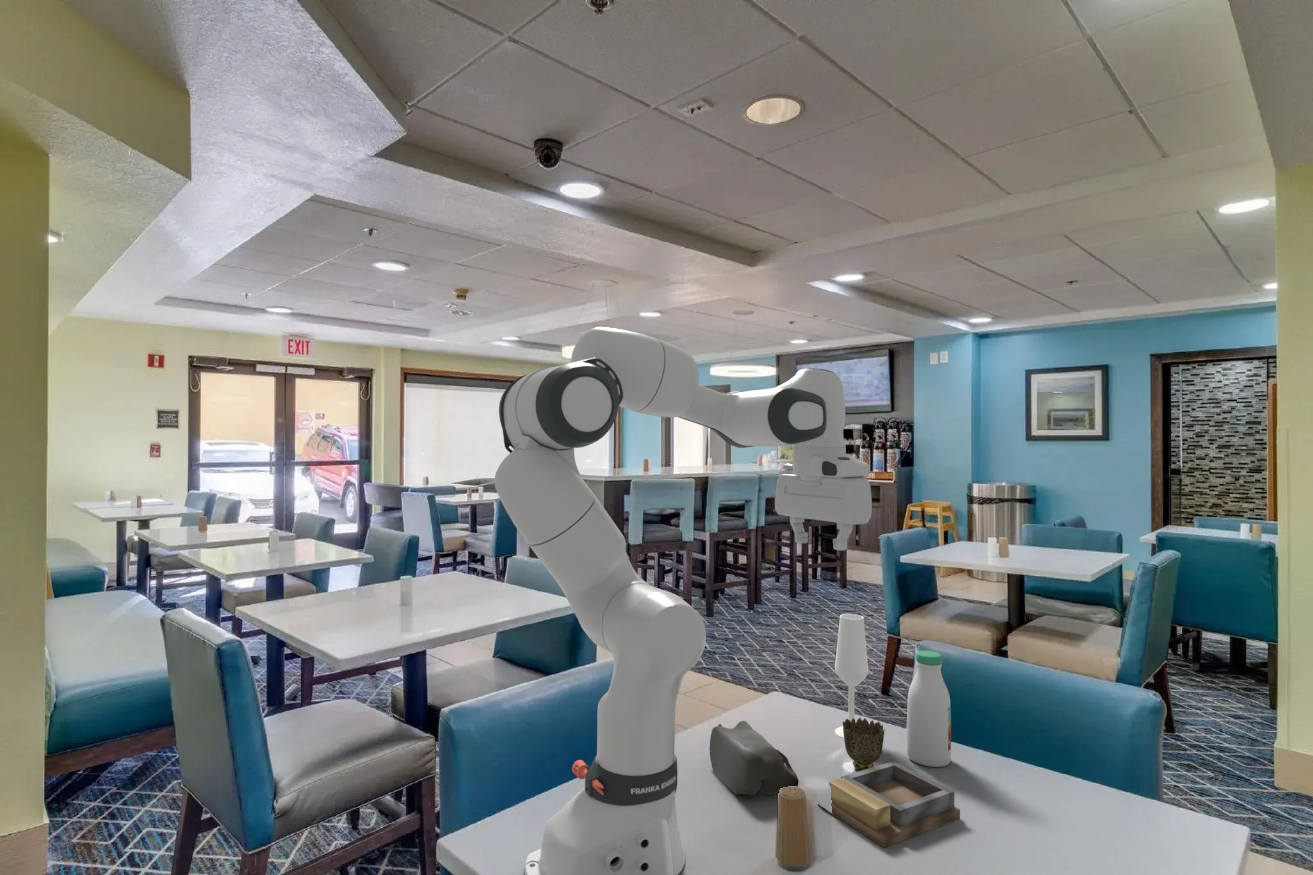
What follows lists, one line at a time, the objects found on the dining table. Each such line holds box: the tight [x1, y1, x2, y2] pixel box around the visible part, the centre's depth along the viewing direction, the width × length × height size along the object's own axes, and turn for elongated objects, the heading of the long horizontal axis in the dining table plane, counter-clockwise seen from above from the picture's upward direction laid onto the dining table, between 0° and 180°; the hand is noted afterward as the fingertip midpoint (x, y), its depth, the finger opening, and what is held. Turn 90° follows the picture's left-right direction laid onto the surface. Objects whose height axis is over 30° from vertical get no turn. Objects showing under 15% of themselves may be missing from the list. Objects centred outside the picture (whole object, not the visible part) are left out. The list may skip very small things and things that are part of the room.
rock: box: [709, 720, 800, 796], centre depth 124 cm, size 18×11×8 cm, turn 20°
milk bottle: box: [906, 650, 952, 768], centre depth 133 cm, size 8×8×20 cm
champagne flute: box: [834, 613, 869, 739], centre depth 145 cm, size 7×7×24 cm
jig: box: [828, 760, 961, 849], centre depth 113 cm, size 17×14×4 cm
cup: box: [842, 717, 886, 772], centre depth 128 cm, size 8×7×8 cm
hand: (820, 546), depth 119 cm, fingers open, 8 cm apart
